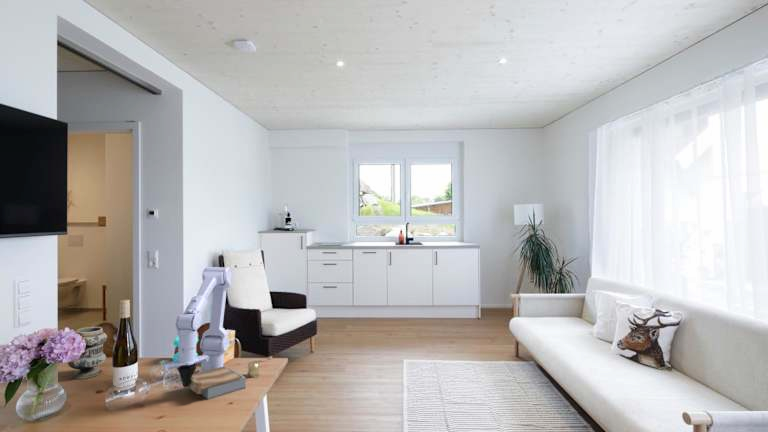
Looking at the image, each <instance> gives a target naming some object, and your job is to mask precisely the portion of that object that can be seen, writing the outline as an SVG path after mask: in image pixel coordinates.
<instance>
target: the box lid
mask: <svg viewBox="0 0 768 432" xmlns="http://www.w3.org/2000/svg"><path fill="white" fill-rule="evenodd" d="M227 368H228V367H225V366H223V367H220V368H216V369H212V370H208V371H204V372H200V373H198V372H197V373H193V375H192V377H191V379H190V383H189V386H188V387H187V388H189V389H190V390H192V392H194V393H195V394H196V395H201V394H200V393H201V390H202V389H206V388H209V387H213V386H216V385H220V384H223V383H227V382H230V381H234V380H237V379H241V377H240V376H239V375H237V374H235V373H234V372H232V371H230V370H229V369H227Z"/></svg>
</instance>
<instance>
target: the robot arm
mask: <svg viewBox="0 0 768 432" xmlns="http://www.w3.org/2000/svg"><path fill="white" fill-rule="evenodd" d="M232 272H233V271H232V269H231V268H230V267H229V266H226V267H224V266H223V267H222V266H221V267H220V266H206V267H204V269H203V271H202V274H201V275H202V279H201V280H202V283H201V285H200V288H199V290H198V293H197V294H196V296H192V298H191V299H190V301H189V302H188V305H187V307H186V308H185V310H184V312H183V313H182V314H179V315H178V316H177V319H176V323H175V328H176V330H177V332H176V334H177V336H178V337H179V344H178V347H177V353H178V360H176V361H173V360H172V361H170V362H167V363H164V364H163V363H162V364H163V365H162V370H163V371H164V372H168V371H169V370H174V369H176V370H177V372H178V373H179V376H180V379H181V382H182V387H183V388H189V387H188V386H189V383H190V379H191V377H192V375H193V374H195V371H196V369H197V364H199V363H200V370H199V371H198V372H197V373H200V372H204V371H208V370H212V369H216V368H220V367H224V364H223V362H224V352H225V351H226V350H227V349H228V346H229V333H228V332H227V331H226V330H227V329H225V328H224V326H223V325H224V320H225V319H224V318H225V317H224V316H225V309H226V299H227V291H228V290H227V289H228V288H230V287H231V285H232V277H233V273H232ZM212 291H213V297H212V304H211V313H210V320H209V322H210V323H209V328H208V329H207V330H205V331H204V332H203V333H202V337H201V339H200V343H199V349H200V350H201V352H202V355H198V356H196V353H197V344H196V342H197V337H198V330H199V328H200V326H201V323H202V318H203V316H202V315H203V313H204V311H205V309H206V307H207V305H208V300H207V299H208V296H209V295H210V294H211V293H212ZM216 335H217V336H216ZM197 343H198V342H197Z"/></svg>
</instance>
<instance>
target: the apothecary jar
mask: <svg viewBox="0 0 768 432" xmlns="http://www.w3.org/2000/svg"><path fill="white" fill-rule="evenodd" d="M76 332H77V333H78V334H80V335H81V336H82V337H83V339H84V340H85V341H86V349H85V352H84V353H83V354H82V356H81V357H80V358H79V359H78V360H76V361H73V362H68V361H67V365H68V367H70V368H72V369H74V370H77V371H75V372H73V373H72V374H71V375H70V378H71V379H73V380H83V379H84V380H85V379H89V378H94V377H96V376H98V375H100V374H102V372H103V370H102V369H100V368H97V367H98V366H101V365H103V363H105V361H106V359H107V356H106V354H105V353H104V352H103V351H104V343H105V342H106V341H107V339H108V335H107V334H106V333H105V332H104V330H103V327H101V326H89V327H87V326H86V327H82V328H78V329H77V330H76V331H75V333H76Z"/></svg>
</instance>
